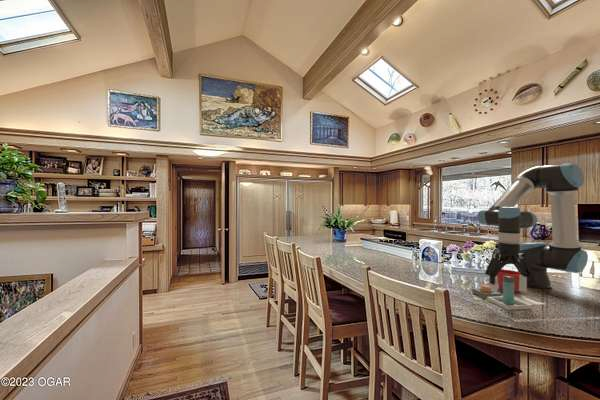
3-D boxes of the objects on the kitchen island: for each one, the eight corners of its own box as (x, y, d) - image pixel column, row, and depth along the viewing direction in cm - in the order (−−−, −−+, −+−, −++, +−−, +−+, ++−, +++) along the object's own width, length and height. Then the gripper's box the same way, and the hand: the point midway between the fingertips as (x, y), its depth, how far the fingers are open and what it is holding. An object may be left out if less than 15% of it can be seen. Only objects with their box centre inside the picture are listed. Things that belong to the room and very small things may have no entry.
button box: (487, 294, 133) (487, 287, 133) (501, 299, 125) (501, 293, 125) (472, 294, 132) (472, 288, 132) (485, 300, 124) (485, 293, 124)
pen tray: (509, 301, 123) (509, 296, 123) (531, 310, 113) (531, 305, 113) (487, 301, 122) (487, 296, 122) (507, 311, 111) (507, 306, 111)
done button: (486, 292, 131) (487, 285, 131) (494, 295, 126) (494, 287, 126) (478, 292, 130) (478, 285, 130) (485, 295, 126) (485, 288, 126)
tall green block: (508, 302, 119) (508, 275, 120) (516, 306, 116) (516, 278, 116) (500, 303, 119) (500, 275, 119) (508, 306, 115) (508, 278, 115)
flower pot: (512, 287, 143) (512, 269, 143) (527, 294, 132) (527, 274, 132) (490, 286, 144) (491, 268, 144) (504, 293, 133) (504, 274, 133)
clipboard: (521, 295, 131) (521, 293, 131) (550, 306, 117) (550, 304, 117) (498, 296, 130) (498, 293, 130) (525, 307, 116) (525, 304, 116)
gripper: (526, 241, 122) (526, 287, 122) (475, 241, 120) (475, 289, 120) (543, 243, 115) (543, 293, 115) (489, 244, 112) (488, 295, 112)
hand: (508, 291), depth 117 cm, fingers open, 13 cm apart
